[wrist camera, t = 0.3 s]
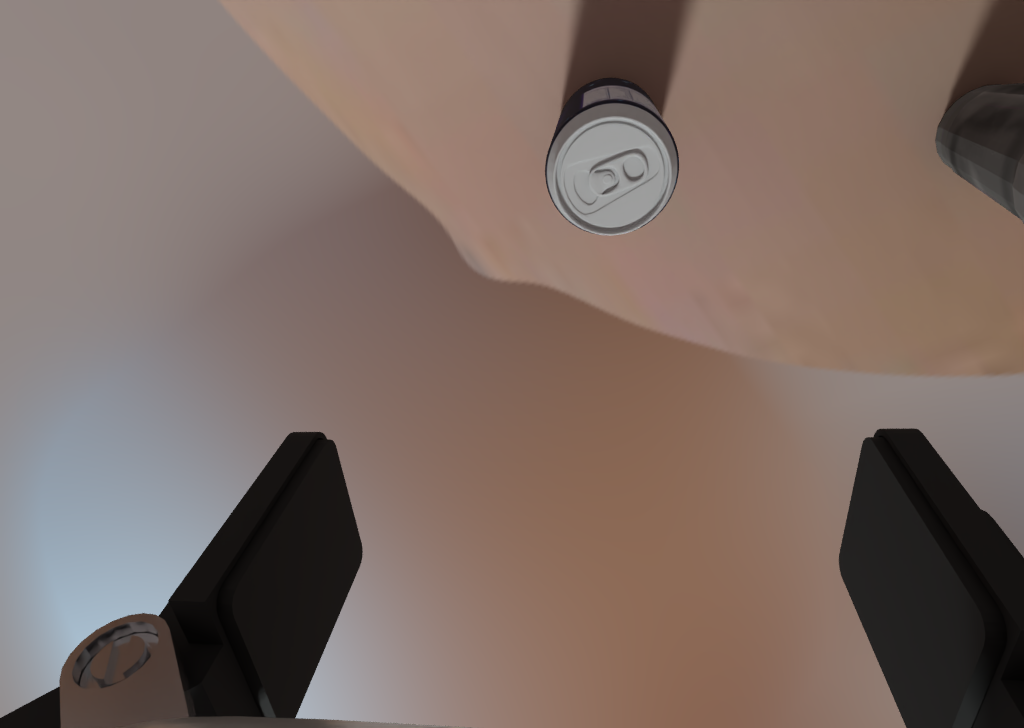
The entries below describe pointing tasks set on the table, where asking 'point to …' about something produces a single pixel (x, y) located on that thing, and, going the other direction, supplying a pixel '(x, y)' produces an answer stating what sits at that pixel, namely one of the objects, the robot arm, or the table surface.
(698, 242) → the table surface
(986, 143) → the beverage cup
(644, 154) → the beverage can
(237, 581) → the robot arm
